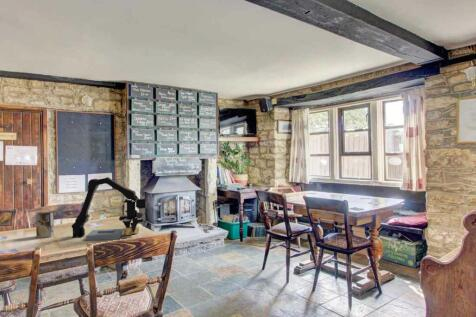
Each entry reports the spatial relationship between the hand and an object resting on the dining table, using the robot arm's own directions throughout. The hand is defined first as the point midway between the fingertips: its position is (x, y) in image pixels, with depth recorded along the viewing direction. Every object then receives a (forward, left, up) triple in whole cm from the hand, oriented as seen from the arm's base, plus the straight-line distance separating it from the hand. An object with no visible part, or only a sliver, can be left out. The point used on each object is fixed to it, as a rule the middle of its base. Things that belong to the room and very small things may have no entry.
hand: (131, 231), depth 219 cm
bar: (0, 0, -1) cm, 1 cm away
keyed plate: (-16, -2, -2) cm, 16 cm away
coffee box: (-56, +7, -2) cm, 56 cm away
